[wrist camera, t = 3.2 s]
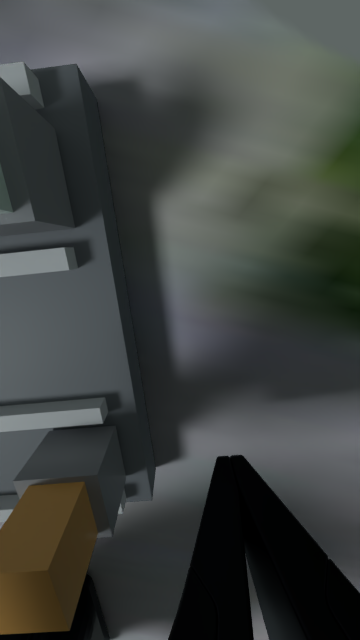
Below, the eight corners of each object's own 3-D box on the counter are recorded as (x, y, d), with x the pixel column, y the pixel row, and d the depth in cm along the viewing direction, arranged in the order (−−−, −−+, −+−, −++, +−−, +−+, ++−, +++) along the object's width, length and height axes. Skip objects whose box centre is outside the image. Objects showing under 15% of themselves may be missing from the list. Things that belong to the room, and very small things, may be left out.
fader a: (126, 478, 9) (88, 635, 6) (64, 483, 10) (-14, 640, 6) (115, 425, 9) (64, 562, 5) (49, 430, 9) (-52, 569, 5)
